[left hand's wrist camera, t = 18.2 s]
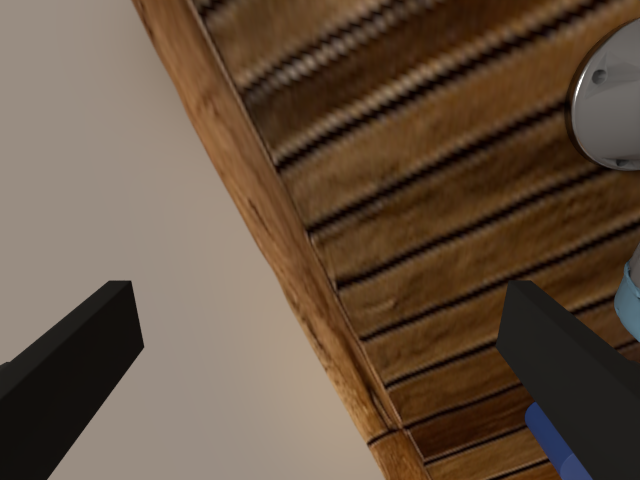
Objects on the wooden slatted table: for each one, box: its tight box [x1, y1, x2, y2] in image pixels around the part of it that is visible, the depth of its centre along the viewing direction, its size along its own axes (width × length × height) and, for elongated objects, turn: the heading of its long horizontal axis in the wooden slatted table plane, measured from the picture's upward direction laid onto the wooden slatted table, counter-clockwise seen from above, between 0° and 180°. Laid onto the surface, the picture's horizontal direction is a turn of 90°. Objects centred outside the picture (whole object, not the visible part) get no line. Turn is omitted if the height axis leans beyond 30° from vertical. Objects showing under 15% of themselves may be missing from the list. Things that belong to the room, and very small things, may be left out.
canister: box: [525, 401, 593, 480], centre depth 50 cm, size 7×7×9 cm
